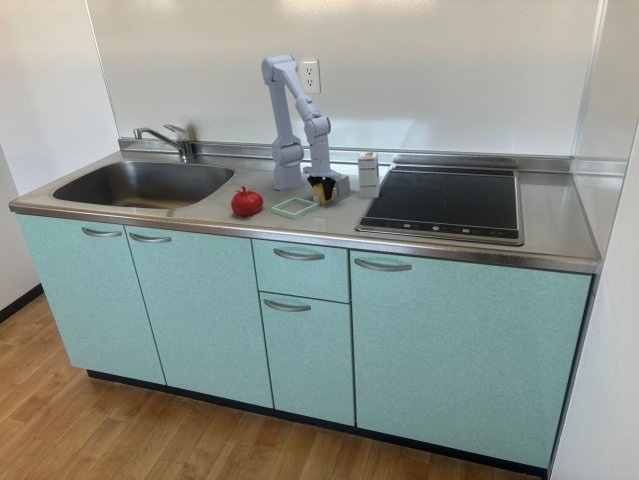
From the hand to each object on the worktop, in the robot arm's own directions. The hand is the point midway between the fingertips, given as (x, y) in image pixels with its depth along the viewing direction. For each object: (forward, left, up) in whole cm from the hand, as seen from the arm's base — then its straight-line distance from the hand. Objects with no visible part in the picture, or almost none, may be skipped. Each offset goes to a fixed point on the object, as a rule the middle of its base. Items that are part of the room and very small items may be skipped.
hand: (323, 198), depth 155 cm
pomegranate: (-16, -18, -2) cm, 24 cm away
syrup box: (+9, +12, -2) cm, 15 cm away
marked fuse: (0, 0, -1) cm, 1 cm away
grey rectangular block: (0, +8, -1) cm, 8 cm away
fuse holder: (0, +4, -2) cm, 5 cm away
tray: (-3, -10, -2) cm, 11 cm away
